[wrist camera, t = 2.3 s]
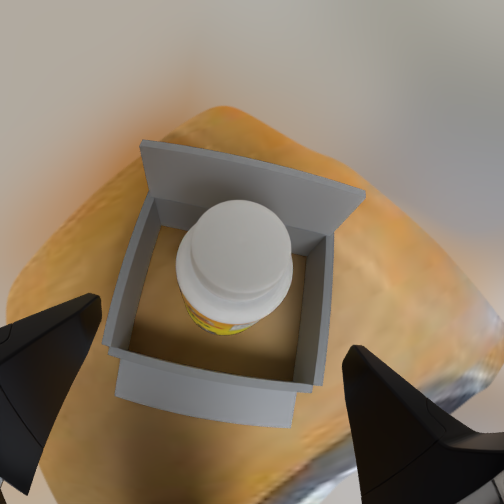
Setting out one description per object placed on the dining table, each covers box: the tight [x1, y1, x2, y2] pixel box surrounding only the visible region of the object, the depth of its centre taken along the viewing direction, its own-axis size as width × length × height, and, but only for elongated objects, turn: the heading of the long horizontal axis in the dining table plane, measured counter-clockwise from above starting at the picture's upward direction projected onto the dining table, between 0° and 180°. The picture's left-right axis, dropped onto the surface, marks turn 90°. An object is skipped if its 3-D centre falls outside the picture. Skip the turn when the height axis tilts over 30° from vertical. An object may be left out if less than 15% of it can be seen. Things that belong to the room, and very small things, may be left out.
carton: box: [102, 140, 366, 428], centre depth 15 cm, size 14×13×9 cm
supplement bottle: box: [176, 200, 293, 336], centre depth 15 cm, size 6×6×10 cm
